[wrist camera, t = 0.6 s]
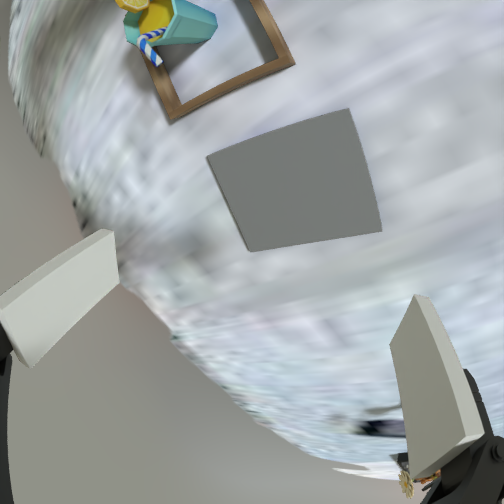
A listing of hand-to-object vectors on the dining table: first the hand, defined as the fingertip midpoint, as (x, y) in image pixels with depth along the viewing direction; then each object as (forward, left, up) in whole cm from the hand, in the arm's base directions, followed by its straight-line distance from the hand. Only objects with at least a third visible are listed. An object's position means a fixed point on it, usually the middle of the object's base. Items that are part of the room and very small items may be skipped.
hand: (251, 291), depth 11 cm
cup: (-21, -10, -27) cm, 35 cm away
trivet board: (+4, -7, -26) cm, 28 cm away
